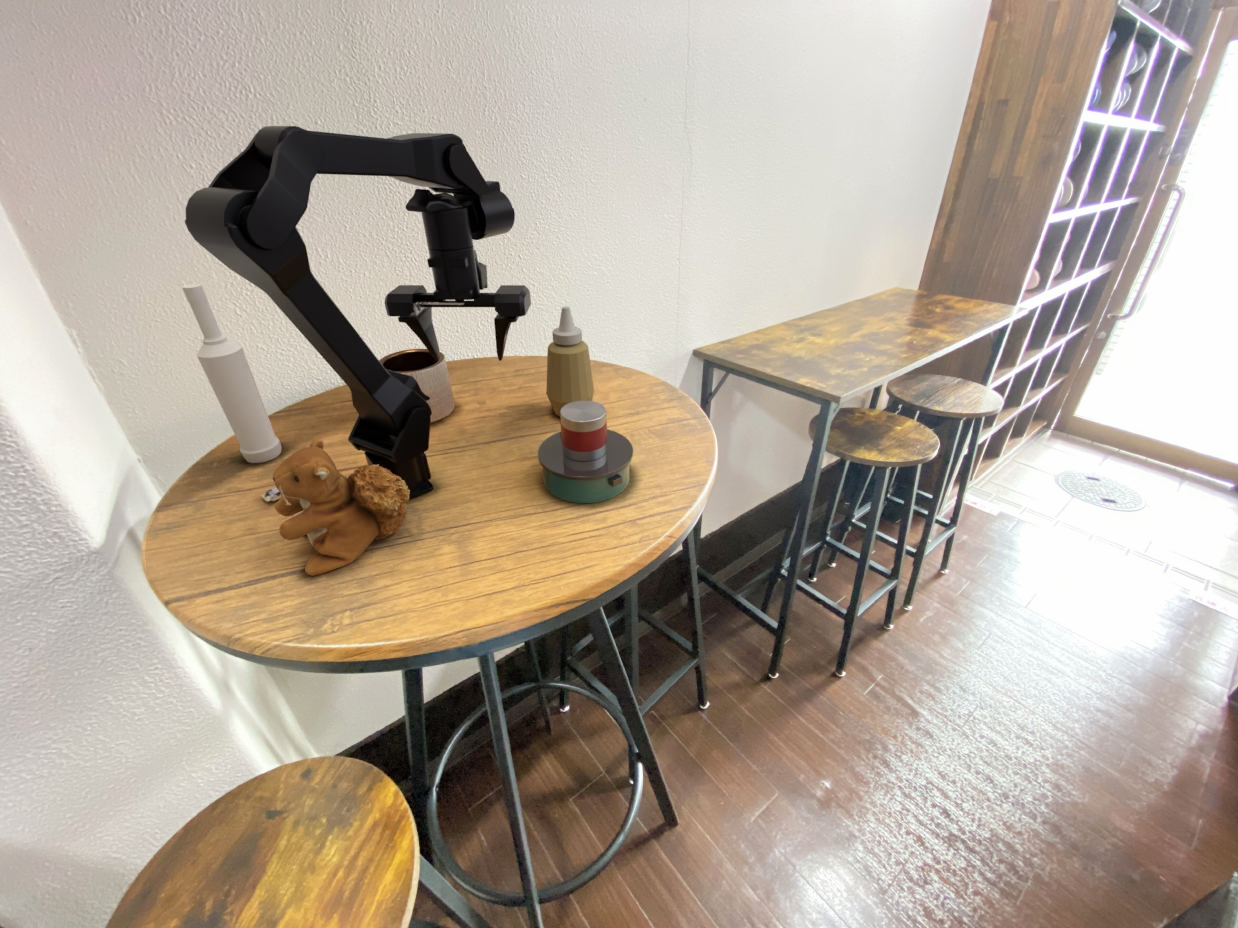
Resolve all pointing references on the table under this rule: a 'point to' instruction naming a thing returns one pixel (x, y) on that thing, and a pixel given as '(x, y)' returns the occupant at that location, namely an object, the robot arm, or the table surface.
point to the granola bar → (272, 495)
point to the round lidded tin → (586, 470)
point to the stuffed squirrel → (337, 506)
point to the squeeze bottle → (568, 365)
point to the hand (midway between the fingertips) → (469, 359)
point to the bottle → (233, 383)
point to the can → (584, 430)
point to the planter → (425, 377)
